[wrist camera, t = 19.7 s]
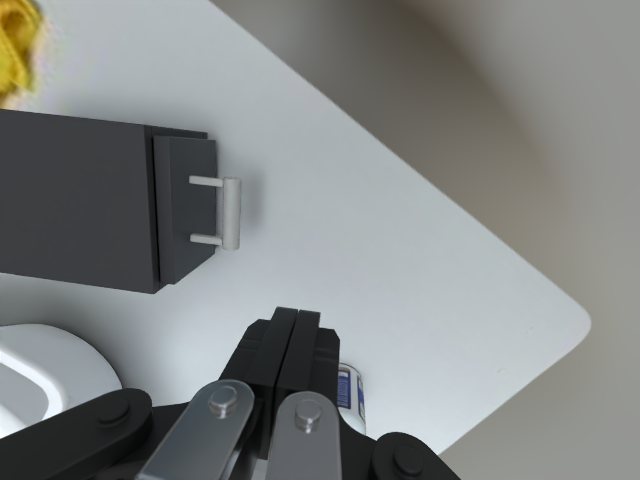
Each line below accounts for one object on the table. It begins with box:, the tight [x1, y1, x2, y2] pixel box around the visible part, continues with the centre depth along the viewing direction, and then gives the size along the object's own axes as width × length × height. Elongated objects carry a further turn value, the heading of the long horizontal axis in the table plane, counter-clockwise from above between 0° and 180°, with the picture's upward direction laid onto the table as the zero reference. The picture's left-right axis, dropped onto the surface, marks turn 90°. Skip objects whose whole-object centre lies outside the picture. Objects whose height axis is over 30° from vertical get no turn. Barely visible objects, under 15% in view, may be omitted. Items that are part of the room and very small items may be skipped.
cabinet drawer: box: [151, 135, 241, 285], centre depth 27 cm, size 18×11×8 cm, turn 84°
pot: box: [0, 324, 122, 438], centre depth 33 cm, size 40×32×14 cm
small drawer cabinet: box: [0, 109, 207, 294], centre depth 27 cm, size 15×13×10 cm
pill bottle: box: [337, 364, 366, 436], centre depth 31 cm, size 5×5×10 cm
